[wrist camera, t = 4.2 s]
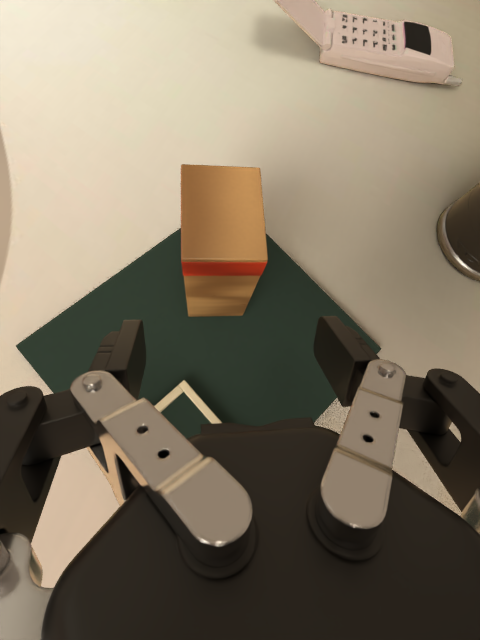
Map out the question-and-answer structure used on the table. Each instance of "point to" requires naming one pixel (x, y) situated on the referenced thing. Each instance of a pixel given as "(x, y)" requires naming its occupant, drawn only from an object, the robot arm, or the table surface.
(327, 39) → the mobile phone
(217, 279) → the box
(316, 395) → the mat
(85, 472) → the table surface
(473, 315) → the table surface
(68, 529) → the table surface
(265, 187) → the table surface
